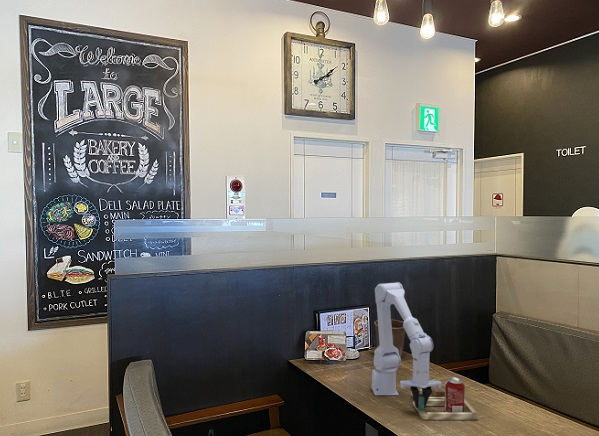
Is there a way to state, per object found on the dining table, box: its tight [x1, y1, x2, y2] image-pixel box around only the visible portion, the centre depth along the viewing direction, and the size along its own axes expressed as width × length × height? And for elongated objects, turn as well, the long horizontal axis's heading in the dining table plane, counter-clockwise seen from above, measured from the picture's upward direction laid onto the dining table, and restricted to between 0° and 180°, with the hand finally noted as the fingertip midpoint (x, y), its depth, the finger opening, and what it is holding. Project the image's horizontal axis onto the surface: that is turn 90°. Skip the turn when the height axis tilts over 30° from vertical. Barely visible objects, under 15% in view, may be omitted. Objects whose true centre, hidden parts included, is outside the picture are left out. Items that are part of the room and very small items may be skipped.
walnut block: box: [431, 386, 445, 397], centre depth 177 cm, size 4×4×4 cm
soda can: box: [443, 376, 466, 412], centre depth 166 cm, size 7×7×12 cm
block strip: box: [410, 387, 445, 400], centre depth 177 cm, size 15×8×4 cm, turn 91°
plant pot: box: [373, 319, 407, 358], centre depth 228 cm, size 16×16×16 cm
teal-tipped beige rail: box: [412, 394, 478, 421], centre depth 166 cm, size 20×12×6 cm, turn 91°
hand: (420, 406), depth 166 cm, fingers closed on teal-tipped beige rail, 2 cm apart
